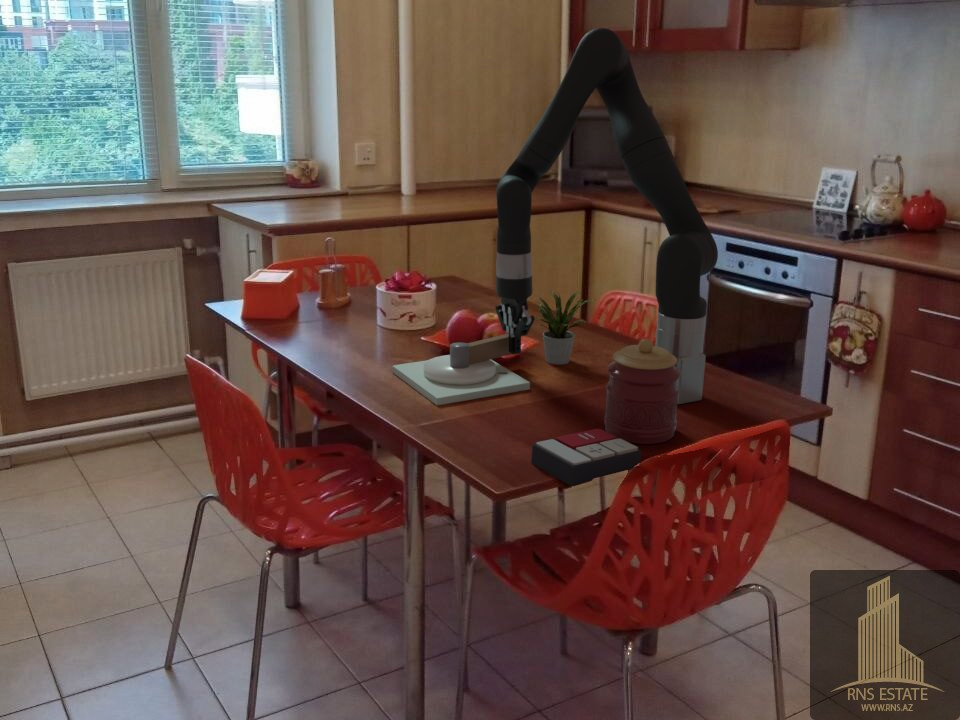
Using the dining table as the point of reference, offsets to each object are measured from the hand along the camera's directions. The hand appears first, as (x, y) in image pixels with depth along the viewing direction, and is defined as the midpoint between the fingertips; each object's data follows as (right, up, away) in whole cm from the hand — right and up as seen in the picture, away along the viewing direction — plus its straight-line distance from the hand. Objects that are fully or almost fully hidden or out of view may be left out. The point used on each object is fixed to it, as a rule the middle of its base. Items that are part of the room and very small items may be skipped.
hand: (514, 352), depth 201 cm
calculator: (+10, -19, -43) cm, 48 cm away
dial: (-8, -3, -2) cm, 9 cm away
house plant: (+11, -2, +10) cm, 15 cm away
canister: (+22, -15, -29) cm, 39 cm away
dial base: (-12, -6, -4) cm, 14 cm away
